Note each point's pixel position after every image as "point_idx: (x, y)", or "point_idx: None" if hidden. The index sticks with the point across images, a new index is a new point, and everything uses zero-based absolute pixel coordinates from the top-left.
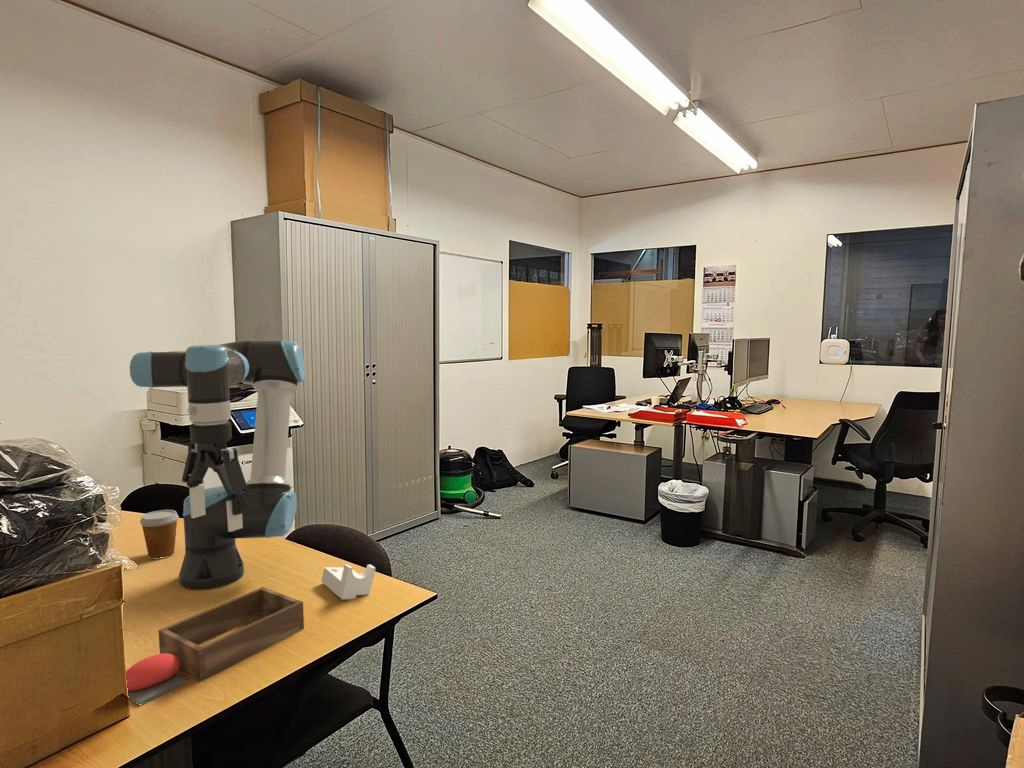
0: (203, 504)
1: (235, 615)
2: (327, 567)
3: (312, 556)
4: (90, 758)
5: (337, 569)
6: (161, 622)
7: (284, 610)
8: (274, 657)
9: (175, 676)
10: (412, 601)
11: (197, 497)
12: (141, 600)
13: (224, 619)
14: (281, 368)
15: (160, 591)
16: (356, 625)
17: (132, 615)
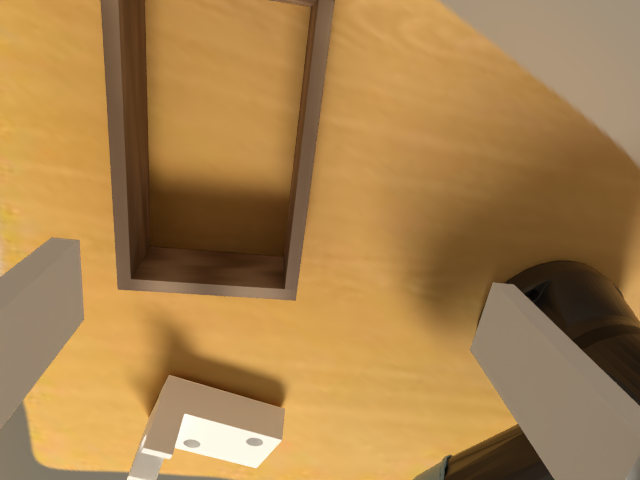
0: (505, 389)
1: (291, 200)
2: (278, 443)
3: (407, 472)
4: None
5: (257, 448)
6: (482, 125)
7: (116, 236)
8: (78, 133)
9: None
10: (37, 433)
11: (555, 404)
12: (620, 177)
13: (295, 171)
14: None
15: (610, 226)
16: None
17: (581, 116)
